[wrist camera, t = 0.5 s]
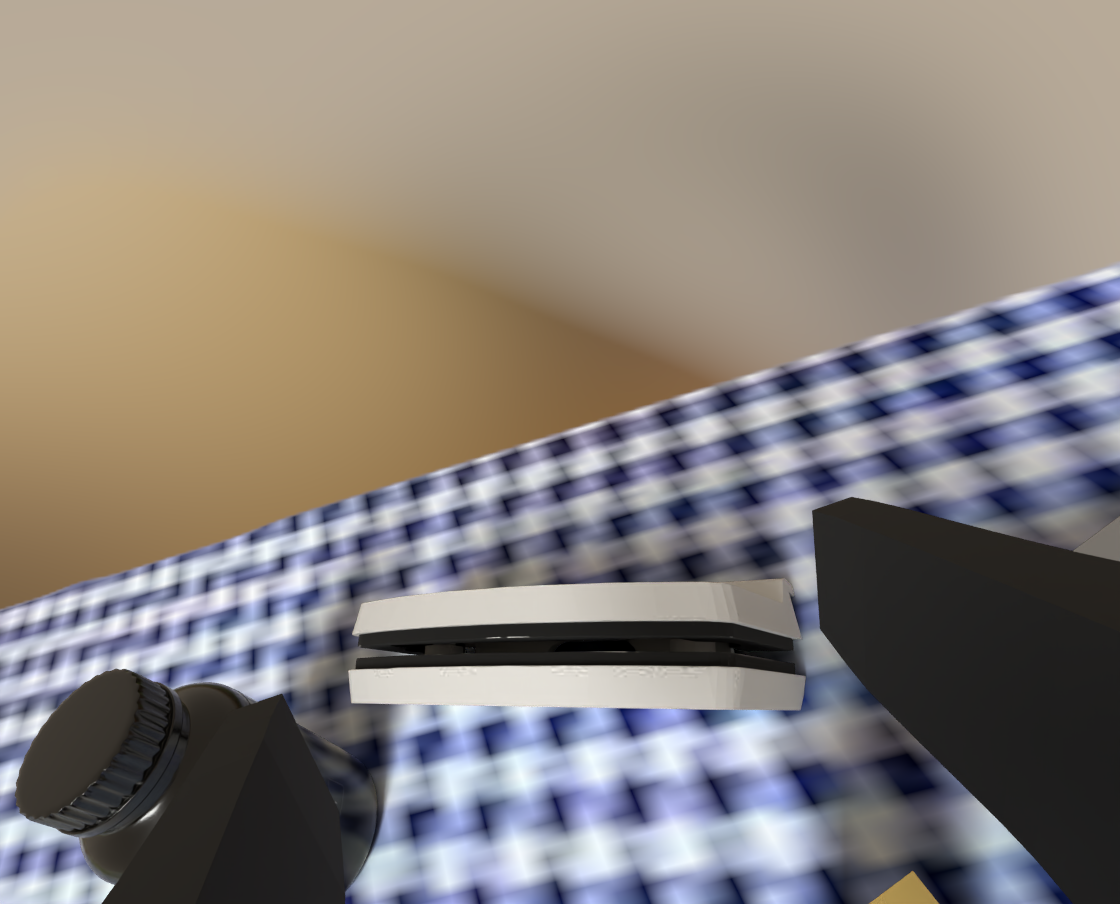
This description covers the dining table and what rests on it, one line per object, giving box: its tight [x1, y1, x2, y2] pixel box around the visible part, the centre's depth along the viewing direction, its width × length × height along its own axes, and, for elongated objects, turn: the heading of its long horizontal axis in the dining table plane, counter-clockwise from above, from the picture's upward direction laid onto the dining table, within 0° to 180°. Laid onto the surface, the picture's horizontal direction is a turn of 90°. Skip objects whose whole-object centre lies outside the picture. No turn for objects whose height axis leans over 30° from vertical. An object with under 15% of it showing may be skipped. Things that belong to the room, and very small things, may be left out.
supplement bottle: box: [15, 669, 377, 891], centre depth 26 cm, size 7×7×12 cm
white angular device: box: [348, 578, 806, 710], centre depth 27 cm, size 17×5×10 cm, turn 80°
